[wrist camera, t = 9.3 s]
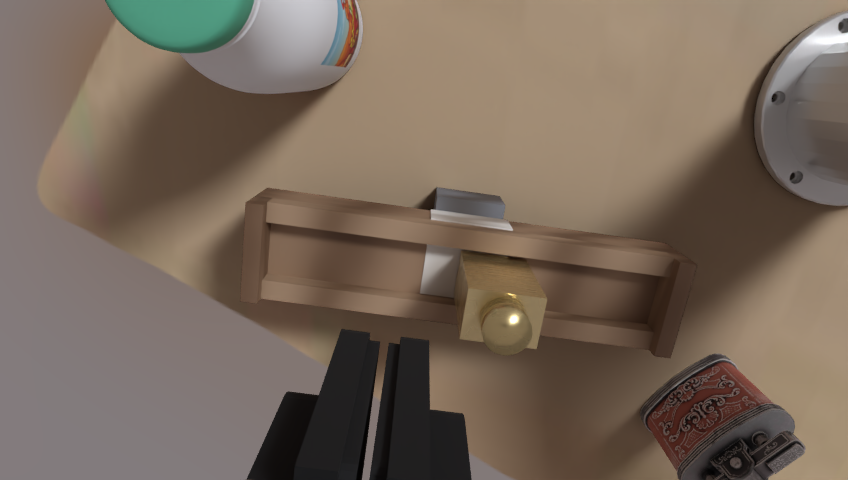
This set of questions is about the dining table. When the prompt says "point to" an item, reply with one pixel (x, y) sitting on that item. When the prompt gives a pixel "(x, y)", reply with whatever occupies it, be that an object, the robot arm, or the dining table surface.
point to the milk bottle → (252, 39)
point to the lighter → (720, 424)
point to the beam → (439, 258)
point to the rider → (498, 302)
